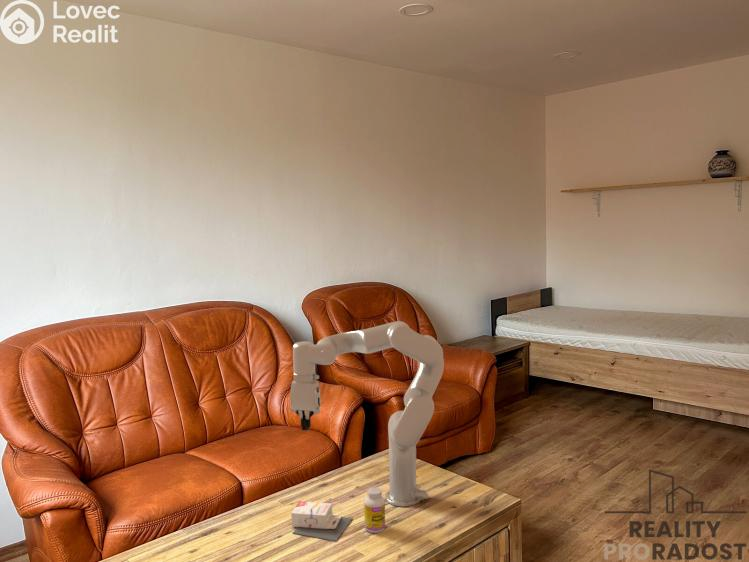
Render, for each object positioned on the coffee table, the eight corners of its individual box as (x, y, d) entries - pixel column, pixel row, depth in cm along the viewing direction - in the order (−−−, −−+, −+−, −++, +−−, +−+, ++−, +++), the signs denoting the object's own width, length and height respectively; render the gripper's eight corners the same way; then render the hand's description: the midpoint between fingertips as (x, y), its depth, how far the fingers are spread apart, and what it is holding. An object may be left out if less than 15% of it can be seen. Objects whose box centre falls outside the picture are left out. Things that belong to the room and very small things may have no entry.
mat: (352, 519, 191) (352, 518, 191) (336, 541, 178) (335, 540, 178) (311, 512, 196) (311, 511, 196) (292, 533, 183) (292, 532, 183)
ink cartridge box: (299, 500, 194) (341, 503, 192) (299, 514, 195) (341, 517, 192) (290, 512, 186) (334, 515, 183) (291, 527, 186) (335, 530, 184)
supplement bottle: (370, 536, 181) (369, 497, 180) (361, 526, 187) (360, 488, 186) (388, 530, 184) (388, 492, 183) (379, 521, 190) (378, 484, 189)
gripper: (328, 376, 200) (329, 427, 202) (289, 373, 204) (290, 423, 206) (320, 382, 192) (321, 434, 194) (280, 379, 197) (281, 430, 199)
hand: (305, 428), depth 200 cm, fingers closed
